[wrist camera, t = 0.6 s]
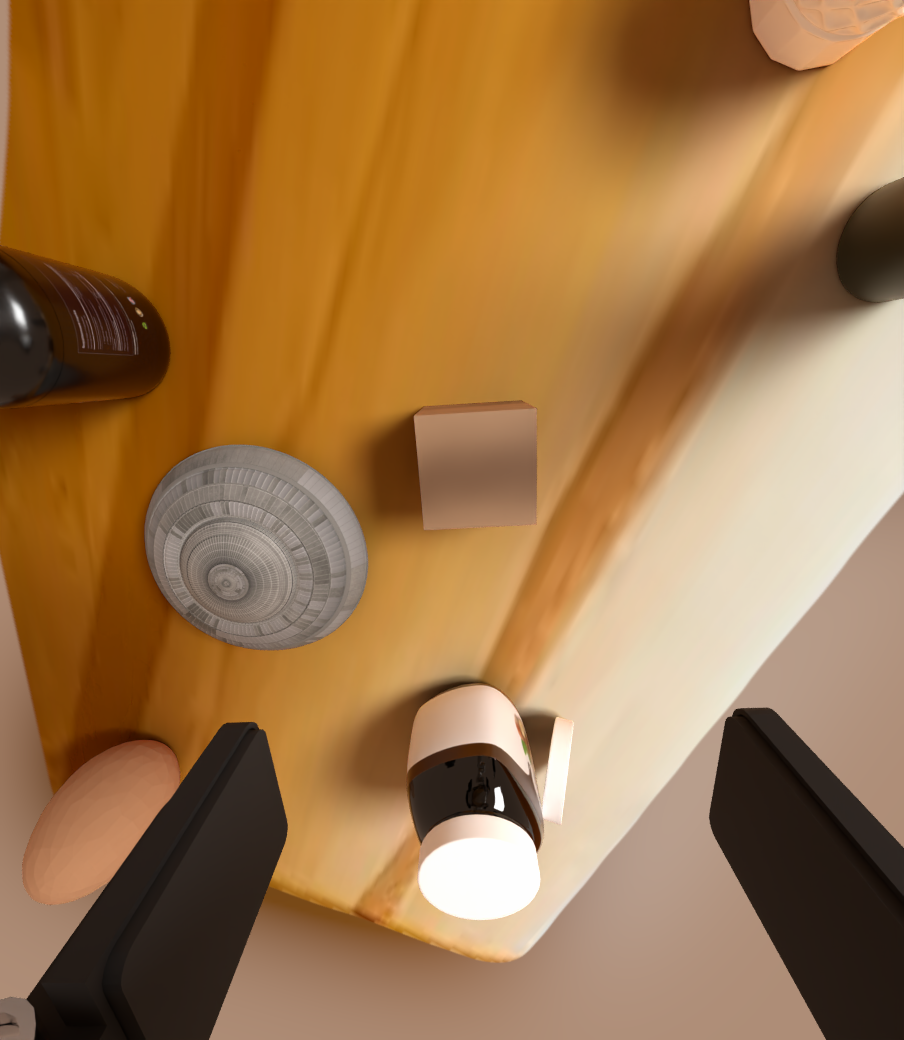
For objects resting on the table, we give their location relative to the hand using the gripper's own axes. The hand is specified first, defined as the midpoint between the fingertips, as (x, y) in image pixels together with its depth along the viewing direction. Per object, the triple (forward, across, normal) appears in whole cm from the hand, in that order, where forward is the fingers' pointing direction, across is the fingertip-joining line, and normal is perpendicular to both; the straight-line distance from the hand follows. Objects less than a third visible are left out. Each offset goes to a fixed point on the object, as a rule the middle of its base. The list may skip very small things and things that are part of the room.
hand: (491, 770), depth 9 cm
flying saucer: (+21, +15, +3) cm, 26 cm away
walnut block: (+21, 0, -3) cm, 21 cm away
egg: (+21, +28, +21) cm, 41 cm away
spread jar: (+21, -1, +19) cm, 28 cm away
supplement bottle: (+21, +21, -11) cm, 31 cm away
